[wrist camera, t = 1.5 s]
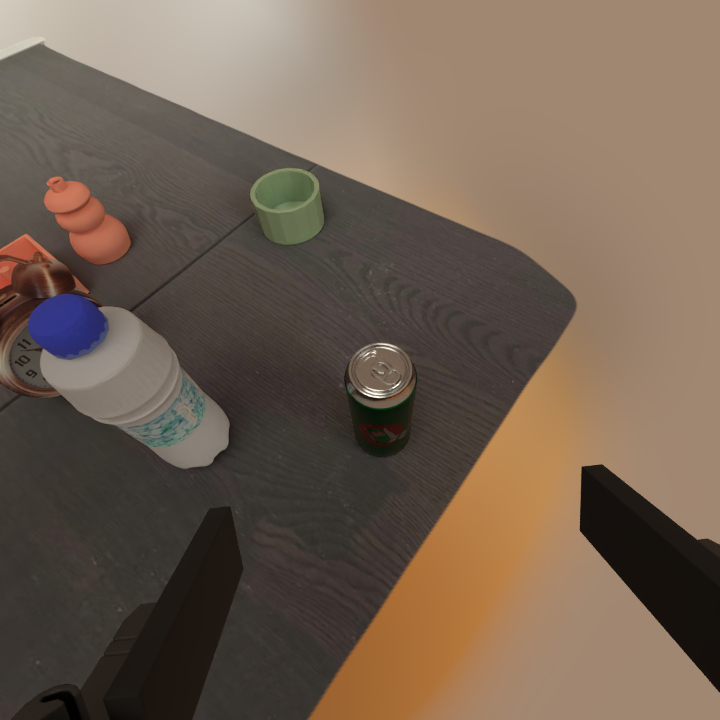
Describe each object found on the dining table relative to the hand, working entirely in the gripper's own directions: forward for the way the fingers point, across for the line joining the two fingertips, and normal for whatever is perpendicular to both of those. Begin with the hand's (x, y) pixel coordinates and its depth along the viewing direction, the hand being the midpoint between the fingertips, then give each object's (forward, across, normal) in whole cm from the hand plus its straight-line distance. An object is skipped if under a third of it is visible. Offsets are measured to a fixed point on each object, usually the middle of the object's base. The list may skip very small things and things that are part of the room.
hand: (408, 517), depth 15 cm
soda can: (+22, 0, -6) cm, 22 cm away
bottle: (+22, -17, -6) cm, 29 cm away
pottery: (+40, -36, +12) cm, 55 cm away
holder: (+43, -8, +15) cm, 46 cm away
